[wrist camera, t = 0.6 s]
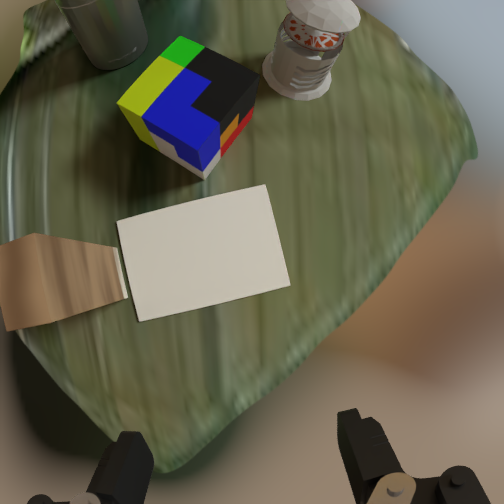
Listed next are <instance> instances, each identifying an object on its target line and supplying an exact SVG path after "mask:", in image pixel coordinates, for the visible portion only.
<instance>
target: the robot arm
mask: <svg viewBox="0 0 504 504" xmlns="http://www.w3.org/2000/svg"><path fill="white" fill-rule="evenodd" d="M55 2H56V4H57V5H58V7H59V9H60V10H61V12H62V14H63V16H64V17H65V19H66V21H67V23H68V24H69V26H70V28H71V29H72V31H73V33H74V34H75V36H76V38H77V40H78V41H79V43H80V45H81V46H82V48H83V50H84V51H85V53H86V55H87V56H88V58H89V60H90V61H91V63H92V64H93V65H94V66H95V67H96V68H98V69H102V70H114V69H118V68H121V67H124V66H126V65H128V64H130V63H131V62H133V61H134V60H135V59H137V58H138V57H139V56H140V55H141V54H142V53H143V51H144V50H145V48H146V46H147V43H148V36H147V32H146V29H145V25H144V22H143V18H142V15H141V11H140V8H139V4H138V1H137V0H55ZM337 424H338V425H337V437H338V445H339V450H340V453H341V456H342V459H343V462H344V466H345V469H346V472H347V475H348V478H349V481H350V485H351V488H352V492H353V495H354V498H355V501H356V504H491V503H490V501H489V499H488V497H487V496H486V494H485V492H484V490H483V488H482V486H481V484H480V482H479V481H478V479H477V477H476V475H475V473H474V472H473V471H472V470H471V469H470V468H468V467H466V466H454V467H451V468H449V469H447V470H446V471H445V472H443V474H442V475H441V476H440V477H432V478H422V479H419V478H414V477H411V476H409V475H408V474H406V473H405V472H404V471H403V469H402V468H401V466H400V463H399V461H398V459H397V457H396V455H395V453H394V451H393V449H392V447H391V445H390V443H389V442H388V439H387V437H386V435H385V433H384V431H383V428H382V426H381V425H380V423H379V422H377V421H376V420H375V419H373V418H372V417H368V418H365V419H361V417H360V414H359V412H358V410H357V409H356V408H354V409H350V410H346V411H341V412H338V414H337ZM153 467H154V458H153V455H152V453H151V451H150V449H149V447H148V445H147V443H146V442H145V440H144V438H143V436H142V434H141V433H140V432H136V431H122V432H121V433H120V435H119V437H118V440H117V442H112V443H111V444H110V445H109V446H108V447H107V448H106V449H105V451H104V453H103V455H102V457H101V460H100V461H99V464H98V467H97V468H96V470H95V473H94V475H93V477H92V479H91V482H90V484H89V486H88V489H87V491H86V492H85V493H80V494H77V495H76V496H74V497H73V498H72V500H71V501H70V502H53V501H52V500H51V499H50V498H49V497H48V496H46V495H43V494H39V495H35V496H33V497H32V498H31V499H30V500H29V501H28V503H27V504H144V500H145V496H146V493H147V489H148V485H149V482H150V478H151V475H152V471H153Z"/></svg>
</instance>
